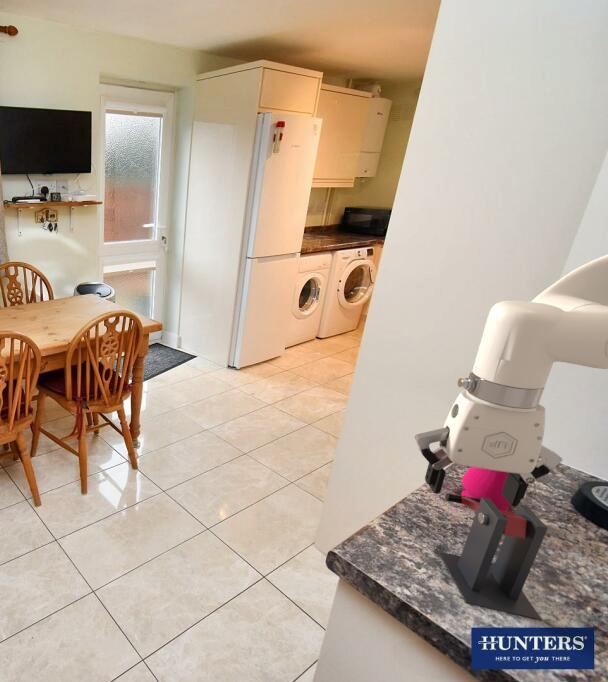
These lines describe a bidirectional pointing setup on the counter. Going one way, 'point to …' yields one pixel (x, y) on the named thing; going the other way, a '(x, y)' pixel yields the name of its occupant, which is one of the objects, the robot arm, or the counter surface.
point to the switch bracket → (510, 567)
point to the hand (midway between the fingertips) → (470, 494)
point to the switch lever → (514, 523)
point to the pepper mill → (486, 486)
